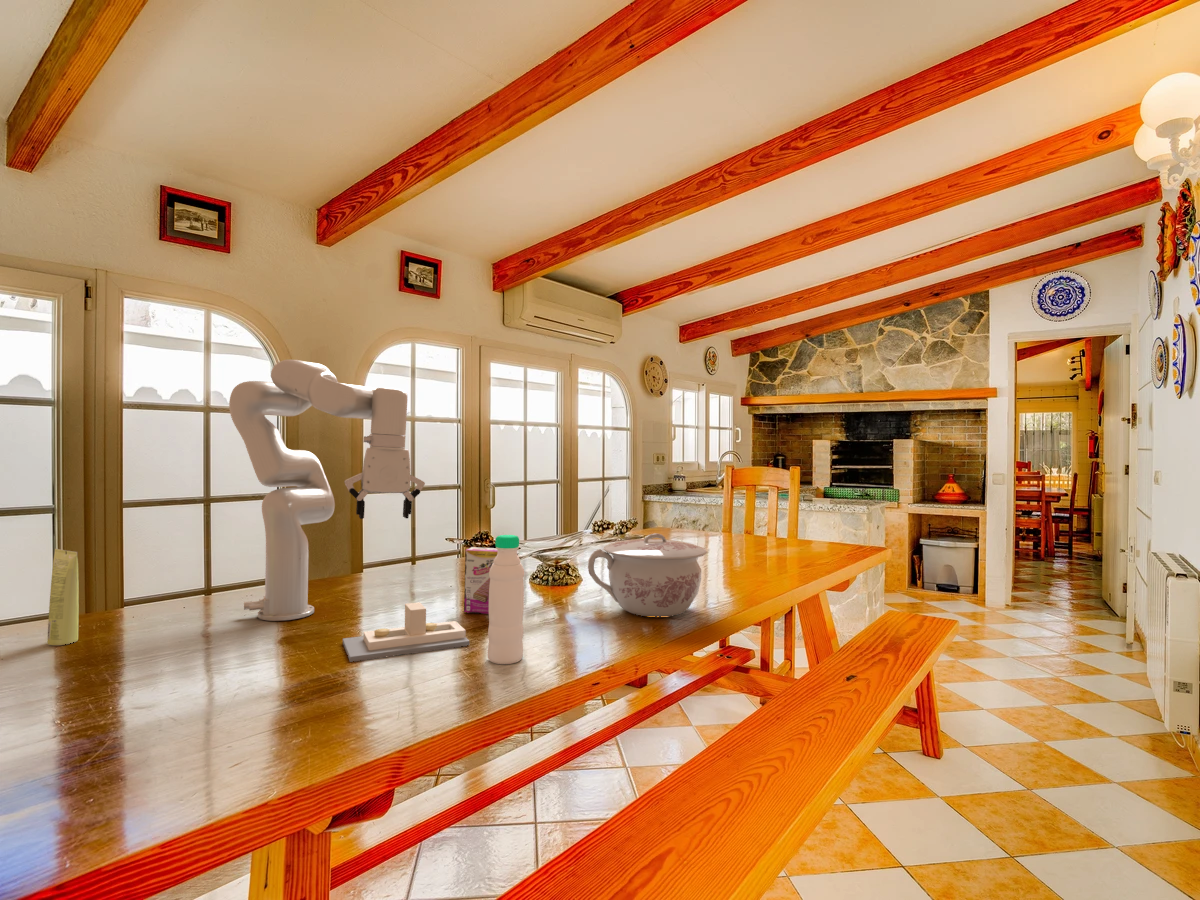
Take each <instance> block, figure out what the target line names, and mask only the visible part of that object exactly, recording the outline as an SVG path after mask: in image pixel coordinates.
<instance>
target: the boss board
mask: <svg viewBox="0 0 1200 900" xmlns="http://www.w3.org/2000/svg"><path fill="white" fill-rule="evenodd" d="M436 628H437V624H436V623H435V622H426V631H434V629H436ZM389 629H390V628H385V627H384V628H376V629H375V630H373V631H374V635H376V636H377V637H386V635H388V634H389ZM467 645H469V646H470V640H469V639H468V638H467V636H465V638H459V639H451V640H443V641H436V642H428V643H421V644H413V645H405V646H398V647H390V648H383V649H375V650H369V649H368V647H367V645H366V643H365V641H364V639H363V635H362V636H351V637H345V638H344V637H343V638H342V646H343V648H344V650H345V652H346V655H348V656H347V658H348V660H349V662H350V663H351V662H352V663H354V662H359V661H360V660H361V661H367V659H368V660H374V659H373V658H376V659H381V658H380V657H383V658H387V657H386V656H390V657H394V656H393V655H397V656H400V655H399V654H405V655H409V654H408V653H412V654H418V653H417V652H419V653H425V652H424V651H426V652H432V650H434V651H439V650H447V649H455V648H461V646H463V647H468V646H467ZM454 647H455V648H454ZM353 661H354V662H353Z"/></svg>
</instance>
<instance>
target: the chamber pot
mask: <svg viewBox="0 0 1200 900" xmlns="http://www.w3.org/2000/svg"><path fill="white" fill-rule="evenodd" d="M706 554H708V551H707V549H705V548H704V547H701V546H700V545H697V544H694V543H689V542H685V541H679V540H672V539H666V537H665V536H664V535H663V534H662V533H651V534H648V535H646V536H645V538H636V539H635V538H634V539H626V540H620V541H615V542H612V543H609V544H606V545H604V547H603V549H601V548H598V549H596V550H595V551H593V552H592V553H591V555H590V557H589V558H588V561H587V570H588V574H589V576H590V577H591V578H592V580H593V581H594V583H596V584H597V585H599V587H601V588H603V589H604V590H605V591H606V592H607V593H608V594H610V596H611V597H612V599H613V600H614V601H615V602H616V603H618V605H619V606H620V608H621V609H623V610H624V611H626V612H628V613H630V614H632V615H635V614H636V615H635V616H638V615H641V616H640V617H642V616H655V617H657V616H659V617H661V616H672V615H675V616H678V615H680V614H684V613H685V612H686V611H687V610H688V609H690V607H691V605H692V604H693V602H694V600H695V599H696V597H697V596H698V594H699V590H700V586H701V582H702V568H701V566H700V565H699V562H698V559H699V558H700V557H701V558H702V557H704V556H705V555H706ZM598 558H603V559H605V560H607V561H606V562H607V563H606V564H607V565H606V567H607V569H608V581H609V584H608V583H606V582H604V581H602V580H601V578H599V577H598V575H597V574H596V571H595V562H596V559H598ZM683 612H684V613H683ZM677 614H678V615H677ZM672 617H673V616H672Z"/></svg>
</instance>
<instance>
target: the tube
mask: <svg viewBox="0 0 1200 900" xmlns="http://www.w3.org/2000/svg"><path fill="white" fill-rule="evenodd" d="M51 571H52V572H51V579H50V580H51V582H50V592H49V593H50V594H49V595H50V596H49V607H48V608H49V609H48V622H47V623H48V624H47V625H48V626H47V645H49V646H65V644H66V645H69V644H70V643H71V644H74V643H76V642H78V640H79V613H80V611H79V609H80V608H79V607H80V606H79V595H80V591H79V590H80V589H79V558H78V551H71V550H66V549H65V550H64V549H59V548H55V549H54V554H53V560H52V569H51ZM73 642H74V643H73ZM71 644H70V645H71Z"/></svg>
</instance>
